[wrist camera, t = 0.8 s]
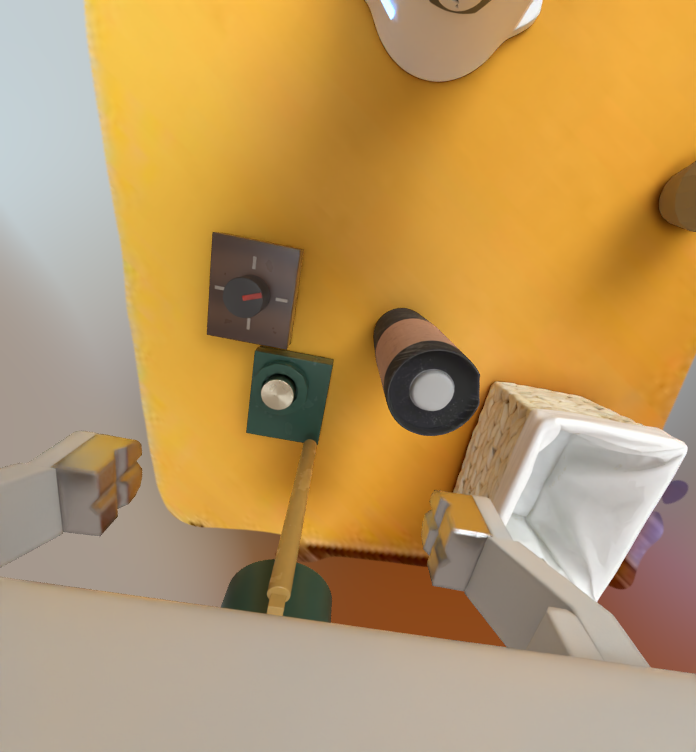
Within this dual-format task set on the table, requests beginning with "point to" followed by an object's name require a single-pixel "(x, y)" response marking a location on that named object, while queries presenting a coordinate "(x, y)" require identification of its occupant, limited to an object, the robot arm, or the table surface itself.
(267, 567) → the desk lamp
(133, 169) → the table surface
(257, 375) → the lamp base
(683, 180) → the squeeze bottle
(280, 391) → the power button
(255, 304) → the dimmer knob
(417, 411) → the travel mug
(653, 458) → the basket
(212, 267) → the dimmer
